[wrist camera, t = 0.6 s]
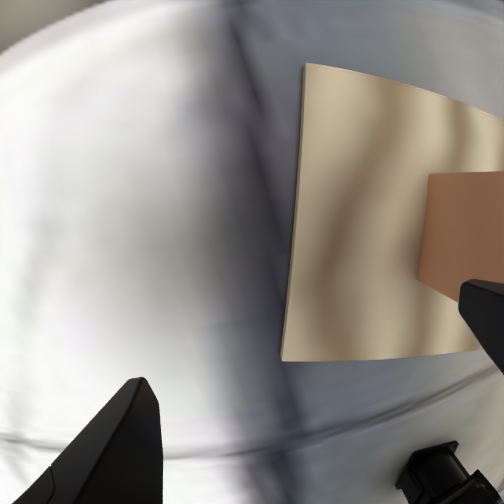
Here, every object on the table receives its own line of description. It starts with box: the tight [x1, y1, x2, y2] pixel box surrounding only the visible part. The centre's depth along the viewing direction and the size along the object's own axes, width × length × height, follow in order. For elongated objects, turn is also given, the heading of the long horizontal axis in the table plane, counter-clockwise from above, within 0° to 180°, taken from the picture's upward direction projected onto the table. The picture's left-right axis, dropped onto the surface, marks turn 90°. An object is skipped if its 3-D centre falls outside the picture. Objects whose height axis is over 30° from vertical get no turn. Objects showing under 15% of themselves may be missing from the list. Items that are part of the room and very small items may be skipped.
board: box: [280, 63, 504, 361], centre depth 20 cm, size 22×20×1 cm
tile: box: [417, 171, 504, 303], centre depth 15 cm, size 2×8×10 cm, turn 176°
